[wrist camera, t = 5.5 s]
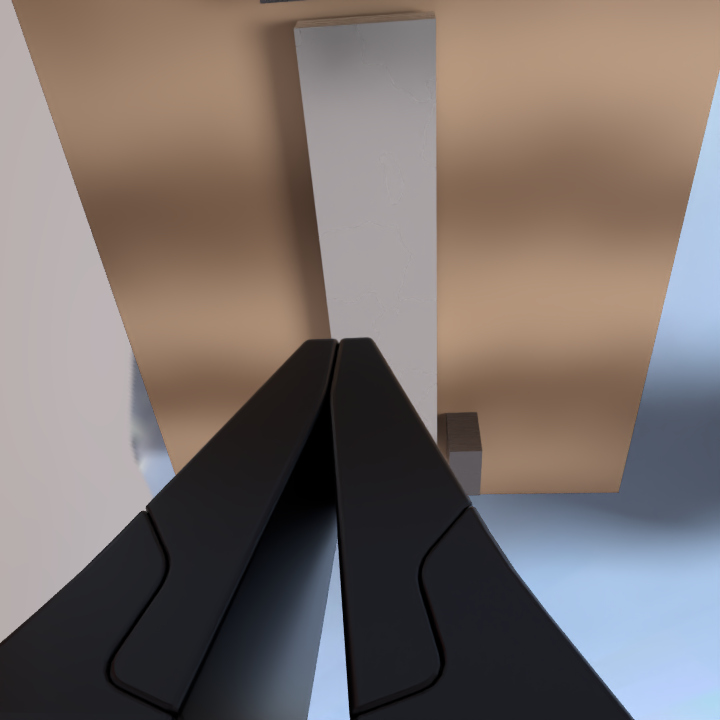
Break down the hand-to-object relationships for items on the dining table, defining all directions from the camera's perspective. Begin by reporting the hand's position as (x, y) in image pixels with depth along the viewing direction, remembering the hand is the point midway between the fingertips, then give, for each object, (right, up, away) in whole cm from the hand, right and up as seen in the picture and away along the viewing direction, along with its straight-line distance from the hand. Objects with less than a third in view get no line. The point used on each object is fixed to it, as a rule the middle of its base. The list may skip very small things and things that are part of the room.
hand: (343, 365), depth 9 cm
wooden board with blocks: (+1, +6, +12) cm, 13 cm away
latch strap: (+1, +2, +10) cm, 10 cm away
